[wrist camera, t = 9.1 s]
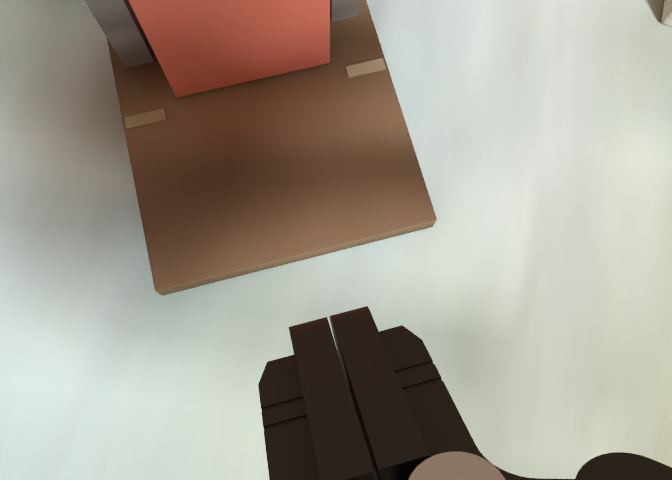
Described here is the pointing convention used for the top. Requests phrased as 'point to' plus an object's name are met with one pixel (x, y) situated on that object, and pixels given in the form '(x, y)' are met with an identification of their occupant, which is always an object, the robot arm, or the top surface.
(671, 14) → the product box
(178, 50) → the red block
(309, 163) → the brown piece
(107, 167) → the top surface
